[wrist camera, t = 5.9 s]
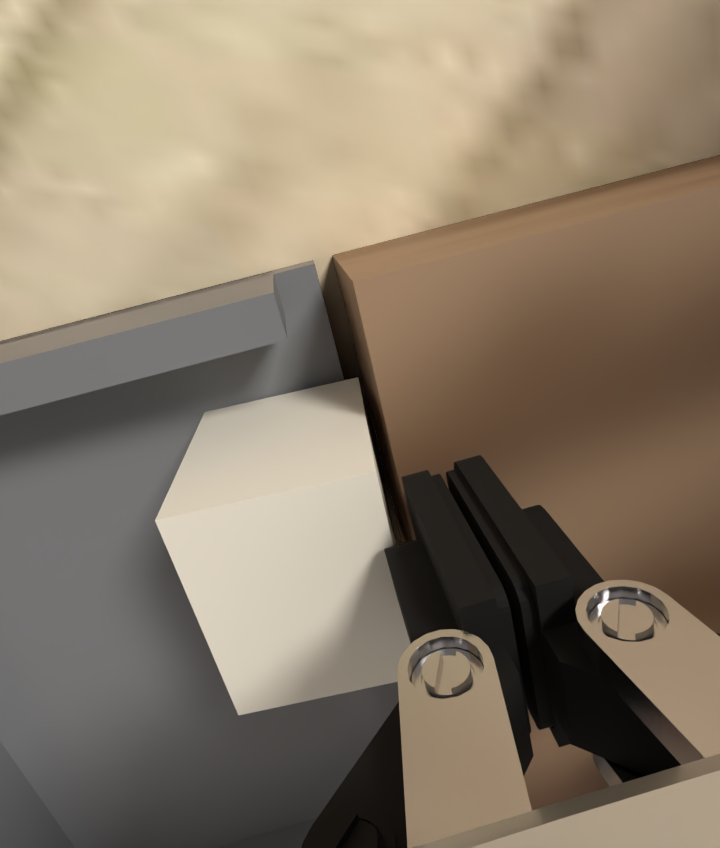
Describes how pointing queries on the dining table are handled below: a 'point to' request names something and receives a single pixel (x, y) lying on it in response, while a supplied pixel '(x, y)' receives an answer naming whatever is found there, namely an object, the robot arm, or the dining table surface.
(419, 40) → the dining table surface
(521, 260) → the bench plate
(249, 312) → the tray
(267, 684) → the cream block
